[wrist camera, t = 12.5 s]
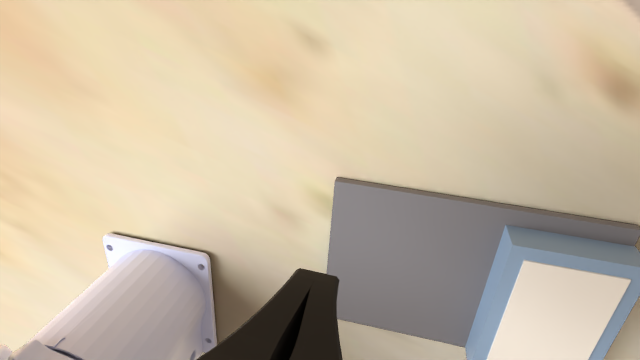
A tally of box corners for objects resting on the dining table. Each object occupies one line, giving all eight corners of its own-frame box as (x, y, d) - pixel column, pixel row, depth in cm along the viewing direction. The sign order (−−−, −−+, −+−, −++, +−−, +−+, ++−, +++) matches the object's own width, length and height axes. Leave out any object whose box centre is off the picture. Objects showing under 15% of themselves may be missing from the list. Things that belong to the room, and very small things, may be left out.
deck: (465, 346, 24) (570, 370, 23) (468, 372, 23) (581, 399, 22) (505, 224, 20) (635, 246, 19) (512, 246, 19) (655, 271, 18)
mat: (566, 363, 24) (569, 370, 23) (324, 310, 26) (323, 315, 26) (637, 225, 19) (642, 230, 19) (336, 177, 22) (335, 180, 21)
